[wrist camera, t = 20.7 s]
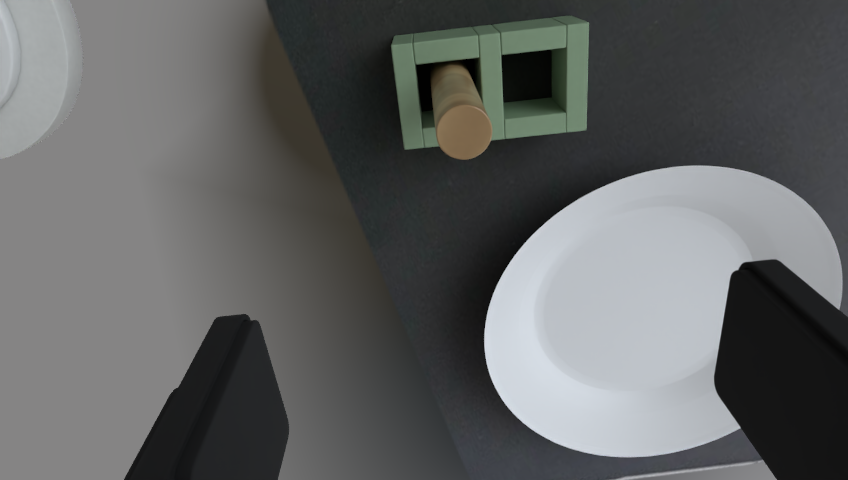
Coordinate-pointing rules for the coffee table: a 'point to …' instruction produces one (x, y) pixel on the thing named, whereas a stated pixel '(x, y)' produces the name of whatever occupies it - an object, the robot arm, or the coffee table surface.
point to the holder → (498, 76)
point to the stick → (458, 111)
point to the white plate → (641, 306)
